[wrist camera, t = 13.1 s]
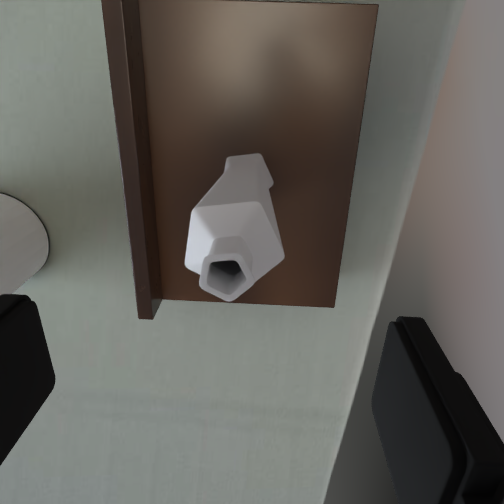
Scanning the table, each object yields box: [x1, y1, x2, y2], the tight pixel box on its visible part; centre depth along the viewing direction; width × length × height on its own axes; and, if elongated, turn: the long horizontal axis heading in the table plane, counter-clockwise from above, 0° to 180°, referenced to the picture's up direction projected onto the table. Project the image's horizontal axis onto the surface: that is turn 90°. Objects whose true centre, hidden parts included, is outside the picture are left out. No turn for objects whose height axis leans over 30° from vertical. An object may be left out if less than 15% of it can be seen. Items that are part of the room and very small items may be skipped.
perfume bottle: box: [185, 153, 285, 302], centre depth 21 cm, size 5×4×15 cm
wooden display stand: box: [101, 0, 379, 320], centre depth 29 cm, size 16×22×8 cm
